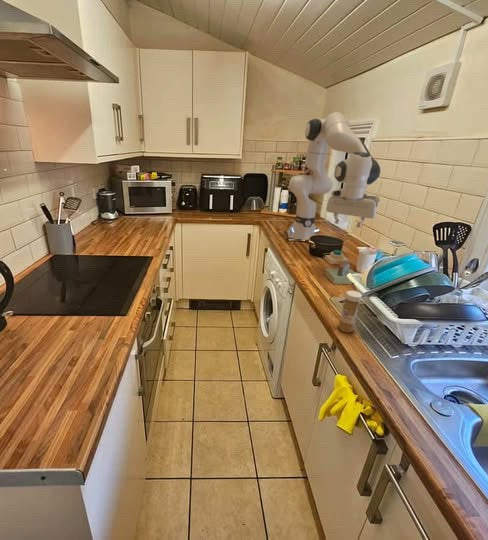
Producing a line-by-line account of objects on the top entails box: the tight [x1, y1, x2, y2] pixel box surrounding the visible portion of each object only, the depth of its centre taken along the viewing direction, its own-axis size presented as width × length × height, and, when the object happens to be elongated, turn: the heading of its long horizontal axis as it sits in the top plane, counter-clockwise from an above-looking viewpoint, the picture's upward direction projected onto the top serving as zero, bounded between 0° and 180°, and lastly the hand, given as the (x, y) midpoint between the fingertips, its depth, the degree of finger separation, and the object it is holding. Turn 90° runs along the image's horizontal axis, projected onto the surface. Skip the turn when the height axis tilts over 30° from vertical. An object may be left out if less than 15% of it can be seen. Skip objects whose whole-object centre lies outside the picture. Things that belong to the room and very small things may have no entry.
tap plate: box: [324, 267, 357, 285], centre depth 136 cm, size 12×12×3 cm
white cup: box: [355, 248, 378, 274], centre depth 144 cm, size 8×8×10 cm
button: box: [333, 249, 342, 255], centre depth 156 cm, size 4×4×2 cm
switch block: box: [322, 251, 351, 265], centre depth 157 cm, size 10×10×4 cm
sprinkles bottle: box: [338, 290, 363, 333], centre depth 97 cm, size 5×5×14 cm
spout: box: [337, 262, 351, 276], centre depth 135 cm, size 8×2×4 cm, turn 138°
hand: (347, 225), depth 132 cm, fingers open, 8 cm apart
